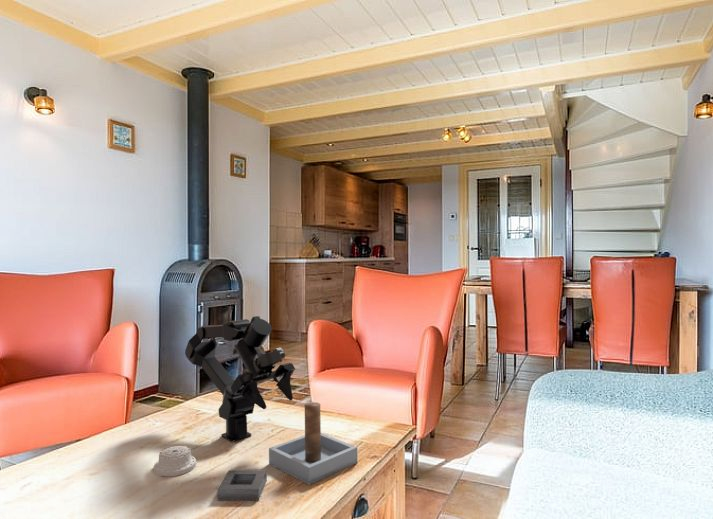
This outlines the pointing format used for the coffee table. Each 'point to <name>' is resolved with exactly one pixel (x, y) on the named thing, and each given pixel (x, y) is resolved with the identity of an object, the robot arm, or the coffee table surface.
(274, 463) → the tray
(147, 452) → the coffee table surface
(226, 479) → the gray square socket plate
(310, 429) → the pin
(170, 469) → the mechanical component
